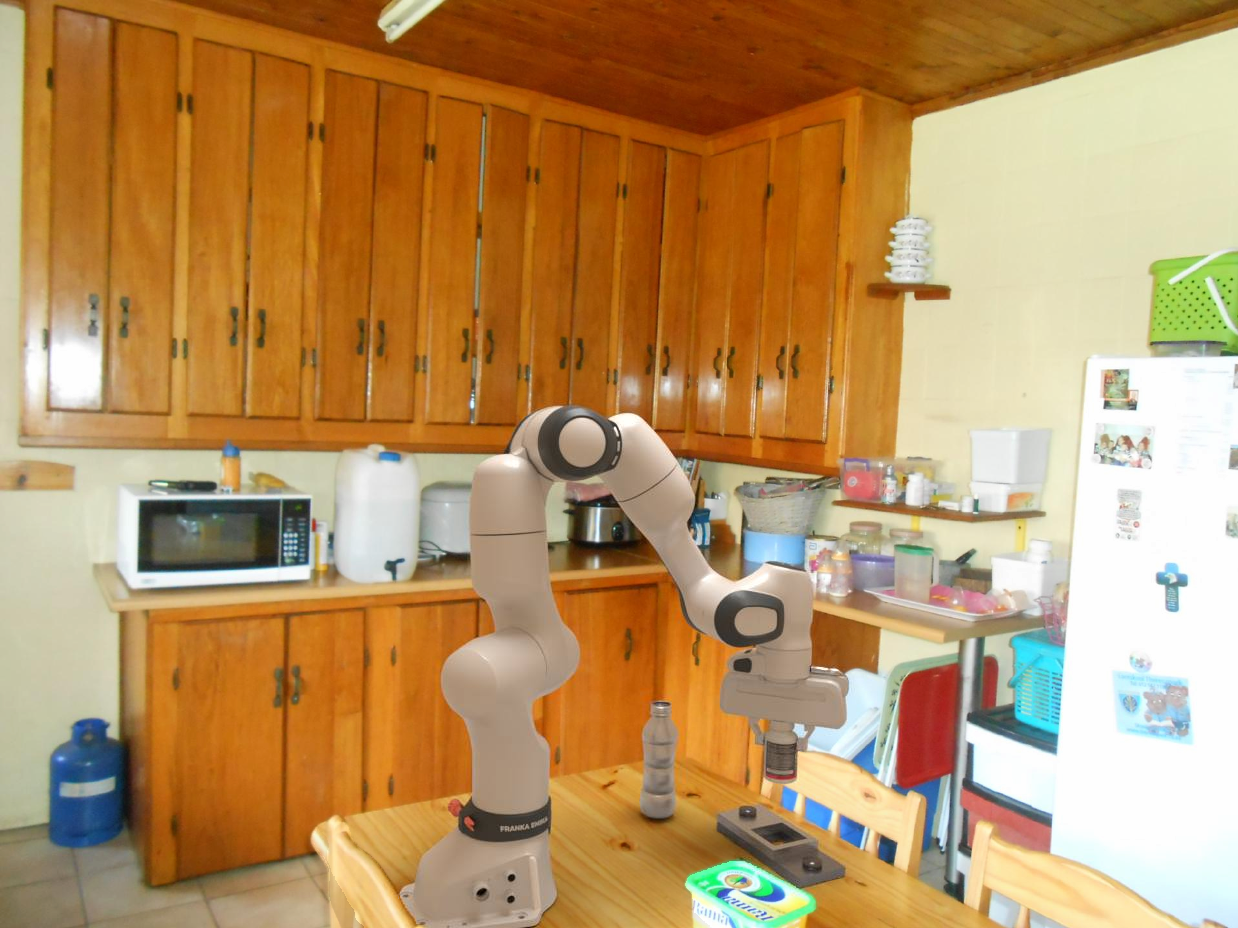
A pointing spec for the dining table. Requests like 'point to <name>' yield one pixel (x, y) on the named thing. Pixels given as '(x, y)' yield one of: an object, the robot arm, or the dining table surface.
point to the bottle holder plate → (790, 859)
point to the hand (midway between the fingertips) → (780, 747)
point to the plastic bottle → (659, 762)
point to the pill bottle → (780, 753)
